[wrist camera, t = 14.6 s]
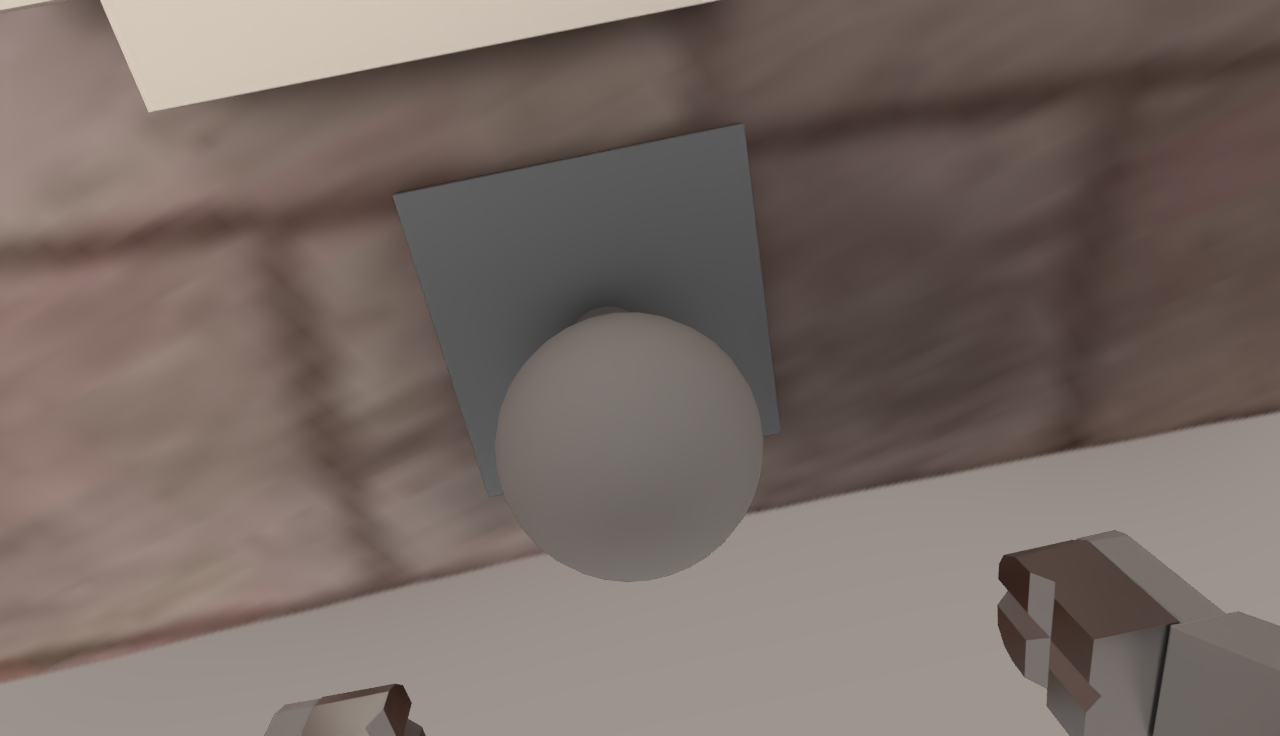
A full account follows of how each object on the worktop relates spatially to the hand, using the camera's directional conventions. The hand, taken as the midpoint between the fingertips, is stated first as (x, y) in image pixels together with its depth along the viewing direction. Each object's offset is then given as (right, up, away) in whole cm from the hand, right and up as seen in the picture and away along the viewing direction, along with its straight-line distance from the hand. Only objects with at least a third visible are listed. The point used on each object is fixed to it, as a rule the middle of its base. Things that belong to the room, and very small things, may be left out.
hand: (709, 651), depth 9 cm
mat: (-2, +5, +14) cm, 16 cm away
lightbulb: (-2, +5, +14) cm, 15 cm away
